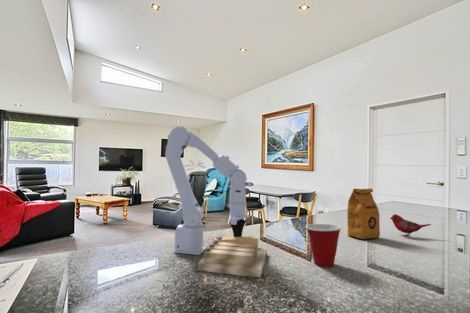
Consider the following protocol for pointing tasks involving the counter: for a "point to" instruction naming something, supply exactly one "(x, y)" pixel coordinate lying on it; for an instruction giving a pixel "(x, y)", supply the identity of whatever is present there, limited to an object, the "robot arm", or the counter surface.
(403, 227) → the decorative bird figurine
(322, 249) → the plastic cup
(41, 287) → the counter surface
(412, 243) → the counter surface
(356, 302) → the counter surface
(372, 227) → the coffee package
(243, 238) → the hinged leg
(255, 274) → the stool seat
